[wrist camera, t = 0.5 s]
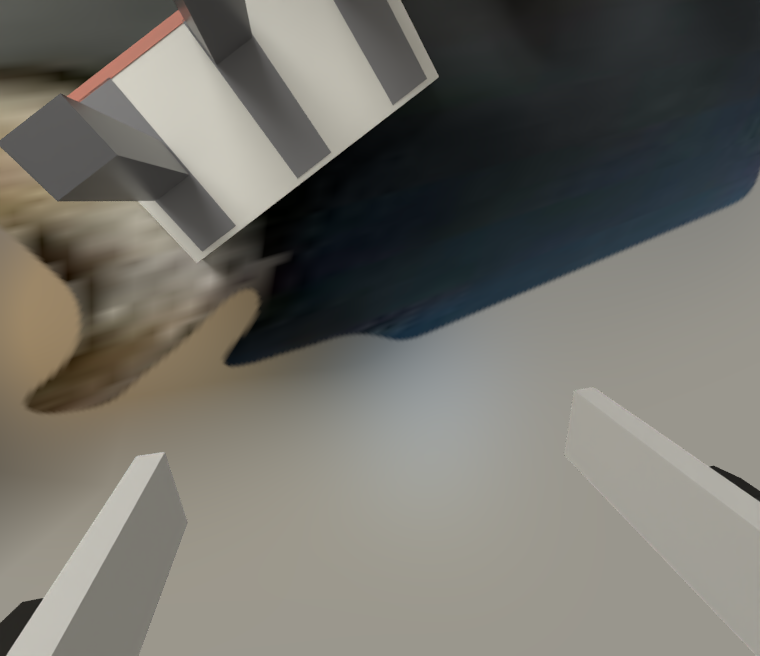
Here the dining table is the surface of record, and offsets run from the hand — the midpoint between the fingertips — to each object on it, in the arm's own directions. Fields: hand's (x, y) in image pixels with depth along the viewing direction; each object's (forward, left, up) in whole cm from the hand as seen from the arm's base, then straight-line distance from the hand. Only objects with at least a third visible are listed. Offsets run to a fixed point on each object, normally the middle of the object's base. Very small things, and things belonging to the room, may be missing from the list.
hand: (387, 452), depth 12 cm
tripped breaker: (-2, -14, -20) cm, 25 cm away
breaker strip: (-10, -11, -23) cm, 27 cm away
